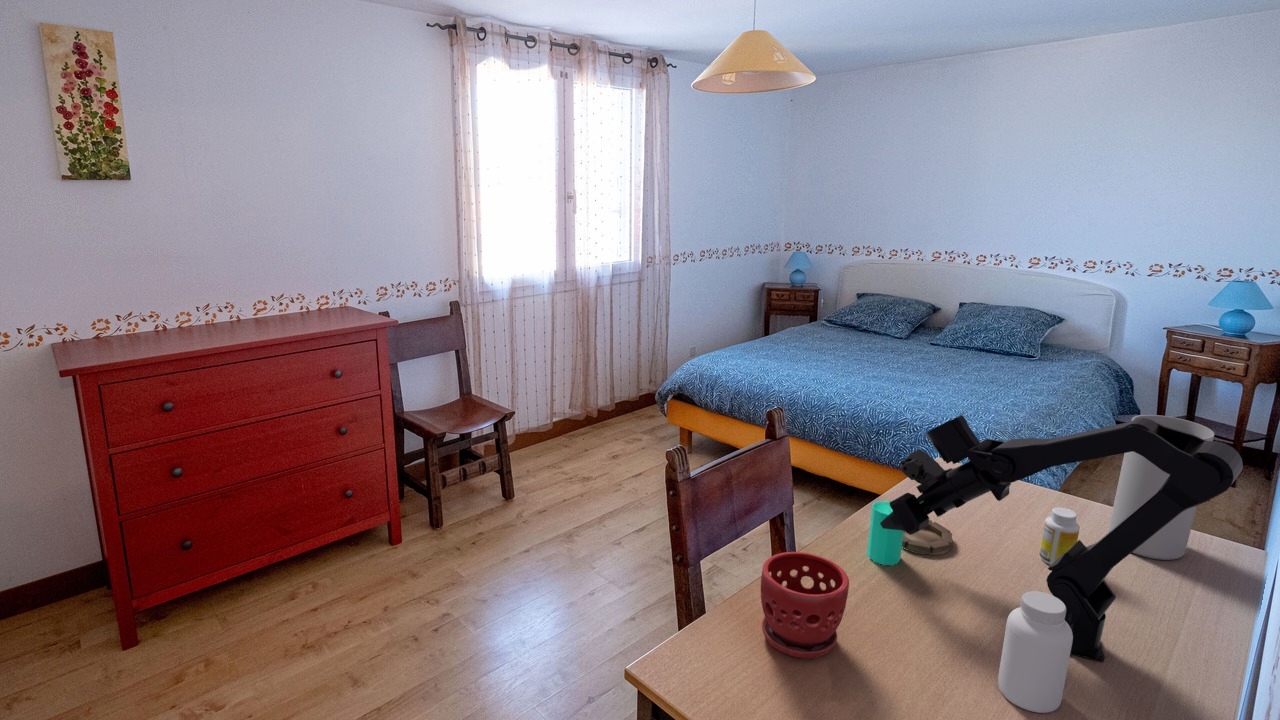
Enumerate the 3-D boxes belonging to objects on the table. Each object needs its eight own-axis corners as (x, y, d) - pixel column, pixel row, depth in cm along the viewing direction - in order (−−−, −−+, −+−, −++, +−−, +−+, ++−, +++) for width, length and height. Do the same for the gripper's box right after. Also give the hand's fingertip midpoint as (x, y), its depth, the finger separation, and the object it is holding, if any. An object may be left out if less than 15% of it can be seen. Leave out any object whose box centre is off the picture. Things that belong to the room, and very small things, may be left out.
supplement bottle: (1077, 562, 131) (1087, 513, 128) (1065, 572, 128) (1075, 522, 125) (1045, 549, 135) (1054, 502, 132) (1033, 559, 132) (1042, 511, 129)
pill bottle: (1003, 666, 104) (1018, 578, 100) (1064, 691, 99) (1083, 600, 95) (989, 696, 98) (1005, 604, 94) (1054, 724, 93) (1074, 628, 89)
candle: (867, 562, 131) (873, 505, 127) (866, 546, 136) (872, 491, 133) (901, 568, 129) (908, 510, 126) (899, 551, 134) (906, 495, 131)
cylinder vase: (1188, 568, 129) (1219, 444, 122) (1108, 549, 135) (1133, 430, 128) (1180, 539, 139) (1208, 422, 132) (1106, 522, 146) (1129, 410, 139)
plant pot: (840, 675, 102) (847, 604, 99) (751, 655, 106) (755, 586, 103) (845, 621, 114) (851, 557, 111) (764, 605, 118) (768, 542, 115)
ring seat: (951, 560, 131) (953, 553, 131) (885, 546, 136) (886, 539, 136) (952, 531, 142) (953, 524, 142) (890, 519, 147) (891, 512, 146)
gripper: (959, 430, 126) (895, 465, 137) (907, 457, 115) (842, 493, 126) (996, 484, 123) (928, 516, 134) (947, 518, 111) (877, 550, 122)
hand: (894, 517), depth 129 cm, fingers open, 9 cm apart
